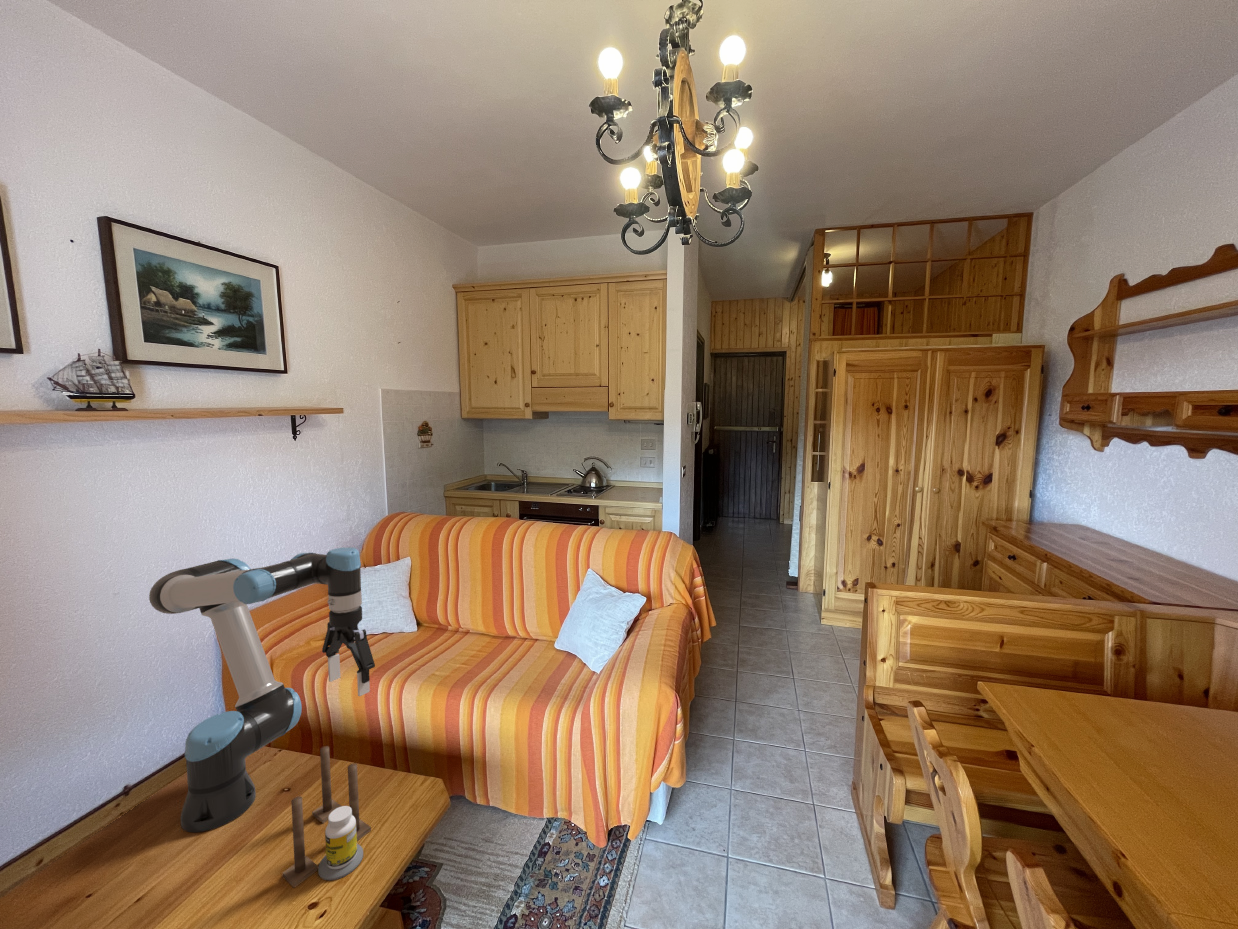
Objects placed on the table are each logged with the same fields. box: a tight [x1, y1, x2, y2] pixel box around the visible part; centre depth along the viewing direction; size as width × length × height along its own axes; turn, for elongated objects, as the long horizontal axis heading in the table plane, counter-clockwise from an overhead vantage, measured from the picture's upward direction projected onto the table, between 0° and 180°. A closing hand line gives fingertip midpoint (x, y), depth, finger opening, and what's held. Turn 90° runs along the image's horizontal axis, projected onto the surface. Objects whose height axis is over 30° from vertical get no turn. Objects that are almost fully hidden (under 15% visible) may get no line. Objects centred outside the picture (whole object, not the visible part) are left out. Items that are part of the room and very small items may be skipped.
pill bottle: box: [324, 805, 358, 869], centre depth 111 cm, size 6×6×11 cm
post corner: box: [347, 763, 372, 842], centre depth 119 cm, size 5×5×18 cm
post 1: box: [282, 795, 319, 889], centre depth 108 cm, size 5×5×18 cm
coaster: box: [317, 843, 364, 881], centre depth 111 cm, size 9×9×1 cm
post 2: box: [311, 745, 343, 824], centre depth 125 cm, size 5×5×18 cm
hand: (348, 686), depth 128 cm, fingers open, 13 cm apart
